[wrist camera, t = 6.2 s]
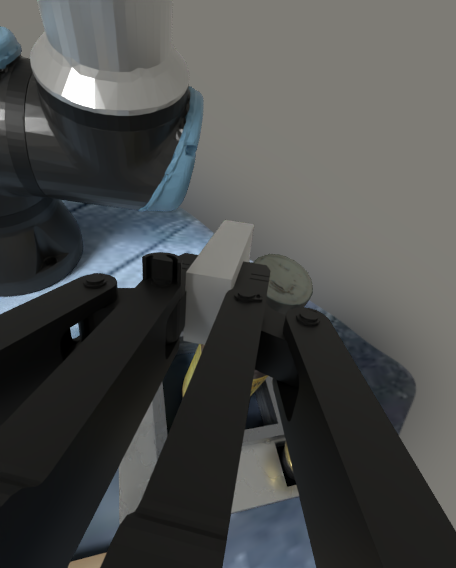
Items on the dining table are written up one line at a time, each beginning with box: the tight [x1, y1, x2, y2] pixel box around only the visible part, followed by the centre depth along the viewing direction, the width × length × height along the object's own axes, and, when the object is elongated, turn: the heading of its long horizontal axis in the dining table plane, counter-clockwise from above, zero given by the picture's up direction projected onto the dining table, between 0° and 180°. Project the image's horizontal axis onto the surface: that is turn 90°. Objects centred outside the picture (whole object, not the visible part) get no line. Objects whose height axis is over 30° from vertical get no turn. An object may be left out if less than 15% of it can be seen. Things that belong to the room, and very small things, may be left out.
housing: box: [119, 329, 299, 524], centre depth 33 cm, size 21×18×4 cm
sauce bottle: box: [182, 254, 313, 399], centre depth 27 cm, size 7×6×20 cm
